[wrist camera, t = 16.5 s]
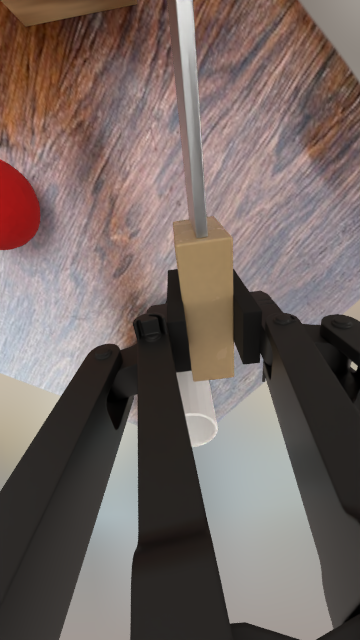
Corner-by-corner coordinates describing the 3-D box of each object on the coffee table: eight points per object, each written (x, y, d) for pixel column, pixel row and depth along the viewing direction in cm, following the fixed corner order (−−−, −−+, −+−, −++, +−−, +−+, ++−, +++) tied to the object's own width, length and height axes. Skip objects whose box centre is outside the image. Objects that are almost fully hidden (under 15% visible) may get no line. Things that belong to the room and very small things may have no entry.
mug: (140, 376, 45) (133, 423, 36) (205, 364, 44) (213, 410, 35) (152, 406, 49) (148, 454, 40) (212, 395, 48) (221, 443, 39)
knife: (219, 328, 18) (234, 377, 14) (187, 332, 18) (193, 382, 14) (194, -190, 8) (224, -617, 4) (119, -174, 8) (61, -576, 4)
